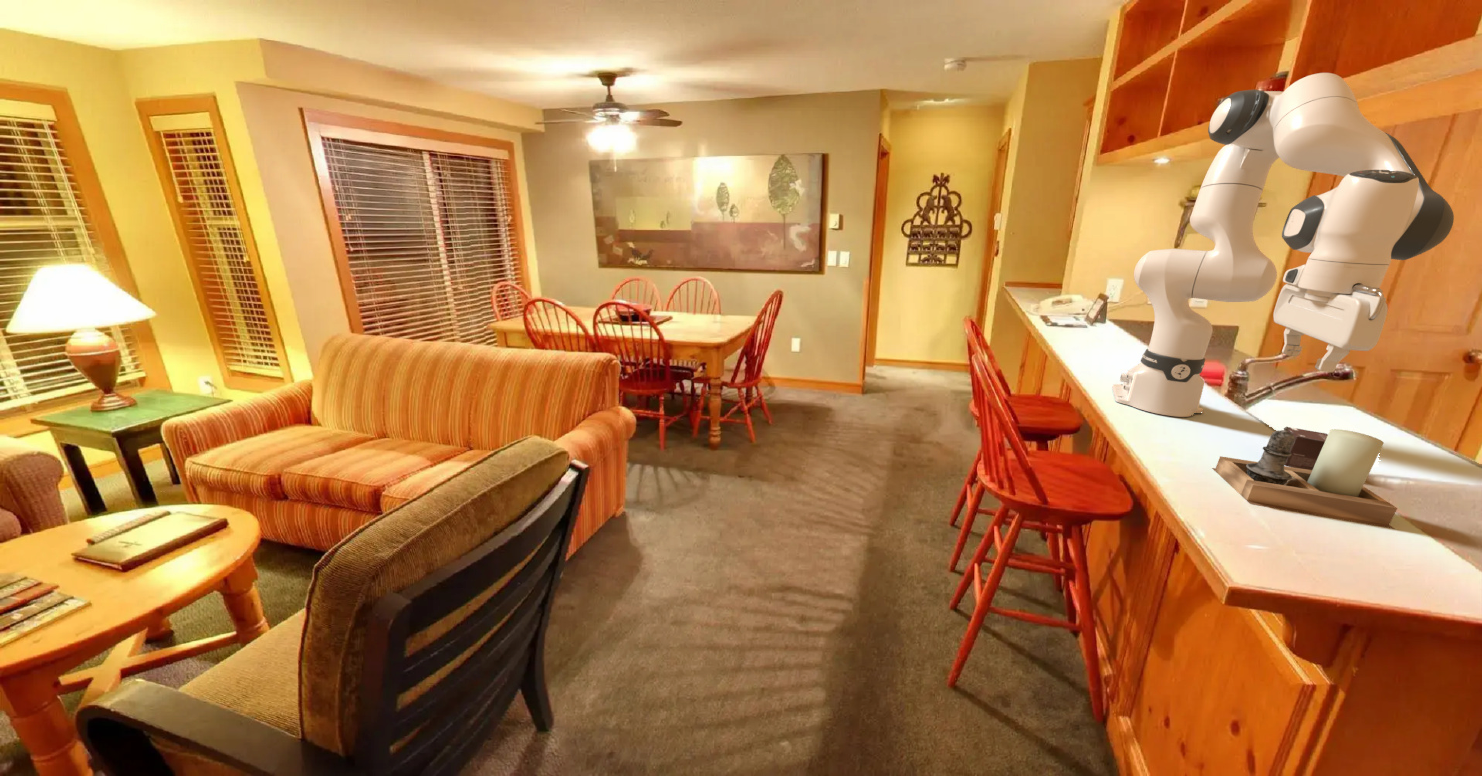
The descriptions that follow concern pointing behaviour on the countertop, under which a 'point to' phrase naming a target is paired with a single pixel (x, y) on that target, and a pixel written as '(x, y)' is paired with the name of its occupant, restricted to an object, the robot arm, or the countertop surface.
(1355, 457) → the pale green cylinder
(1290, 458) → the box
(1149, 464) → the countertop surface
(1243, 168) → the robot arm
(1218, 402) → the countertop surface
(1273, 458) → the dark grey chess piece
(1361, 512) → the divided wooden tray
